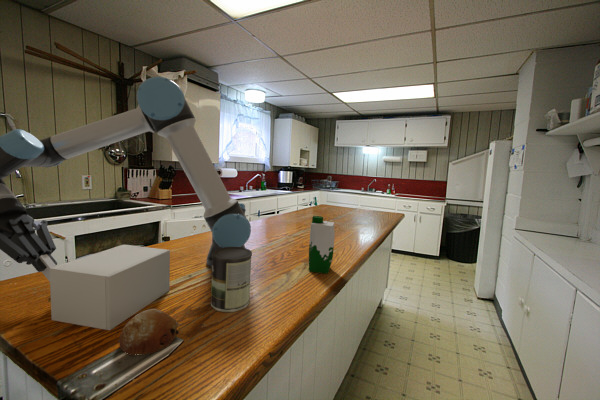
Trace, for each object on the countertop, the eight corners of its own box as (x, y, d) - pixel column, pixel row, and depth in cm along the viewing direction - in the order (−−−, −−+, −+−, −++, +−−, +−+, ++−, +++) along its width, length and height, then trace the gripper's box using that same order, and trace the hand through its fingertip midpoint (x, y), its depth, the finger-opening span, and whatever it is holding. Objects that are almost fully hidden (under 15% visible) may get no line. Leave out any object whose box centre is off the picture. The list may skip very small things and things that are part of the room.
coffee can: (204, 311, 68) (205, 256, 66) (218, 292, 78) (219, 245, 76) (244, 314, 67) (247, 259, 66) (253, 295, 78) (255, 247, 76)
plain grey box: (169, 290, 77) (169, 250, 76) (109, 330, 58) (108, 276, 56) (123, 283, 80) (123, 244, 78) (51, 319, 60) (49, 268, 59)
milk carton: (309, 264, 106) (313, 214, 104) (332, 267, 105) (336, 216, 103) (305, 272, 98) (309, 218, 96) (330, 275, 96) (335, 220, 94)
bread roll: (146, 341, 60) (129, 310, 59) (188, 323, 61) (173, 292, 60) (120, 374, 51) (100, 338, 50) (171, 353, 51) (153, 316, 50)
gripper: (21, 211, 74) (74, 277, 73) (-47, 219, 61) (16, 299, 60) (36, 194, 73) (90, 260, 72) (-30, 198, 60) (35, 279, 59)
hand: (56, 278), depth 66 cm, fingers closed
